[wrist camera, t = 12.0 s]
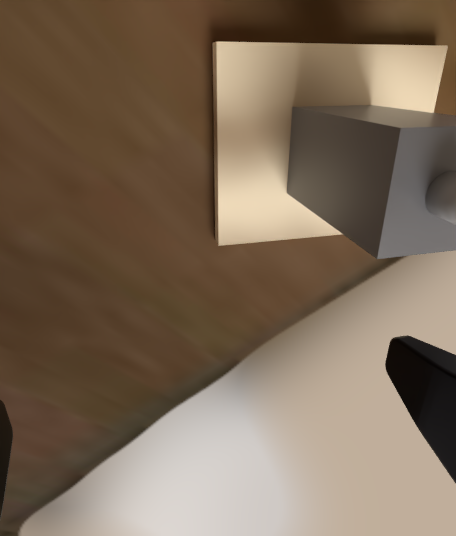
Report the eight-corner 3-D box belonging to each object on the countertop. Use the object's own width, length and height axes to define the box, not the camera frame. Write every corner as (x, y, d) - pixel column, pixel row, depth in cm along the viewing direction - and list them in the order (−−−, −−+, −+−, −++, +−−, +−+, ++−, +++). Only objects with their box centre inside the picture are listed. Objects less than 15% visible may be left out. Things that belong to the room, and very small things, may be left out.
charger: (359, 188, 21) (522, 267, 12) (286, 193, 20) (408, 281, 11) (371, 105, 19) (572, 130, 10) (292, 106, 18) (441, 136, 10)
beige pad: (400, 223, 23) (408, 227, 22) (215, 239, 21) (218, 245, 20) (435, 46, 19) (447, 45, 18) (212, 42, 17) (216, 41, 16)
